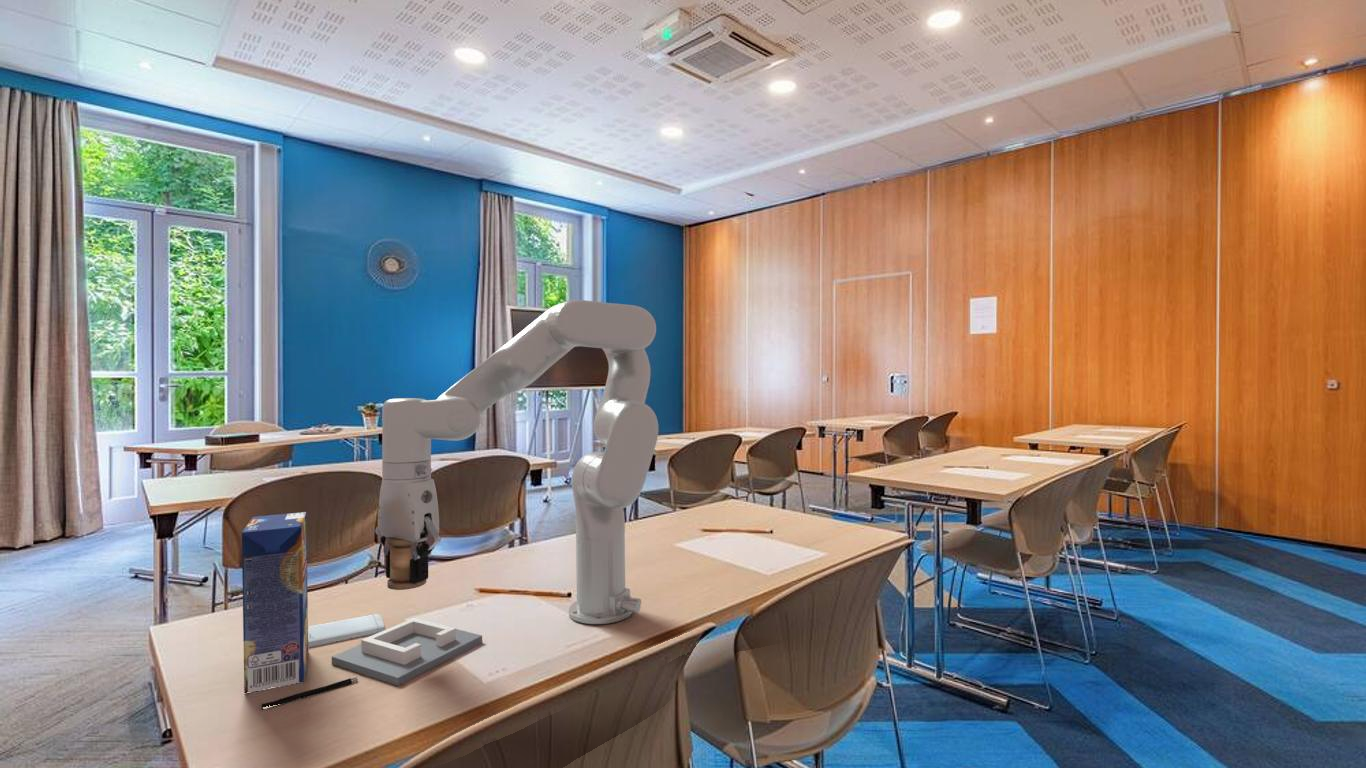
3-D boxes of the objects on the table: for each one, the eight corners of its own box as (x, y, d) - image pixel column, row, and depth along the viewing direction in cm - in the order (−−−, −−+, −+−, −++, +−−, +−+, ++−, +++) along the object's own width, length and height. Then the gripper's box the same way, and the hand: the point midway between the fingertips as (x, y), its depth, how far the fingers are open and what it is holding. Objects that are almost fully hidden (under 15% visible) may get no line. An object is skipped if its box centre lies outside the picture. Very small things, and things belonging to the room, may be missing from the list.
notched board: (482, 642, 108) (482, 624, 108) (397, 685, 93) (397, 664, 93) (419, 626, 115) (419, 609, 115) (331, 663, 100) (331, 644, 100)
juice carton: (303, 682, 94) (301, 526, 94) (244, 694, 91) (241, 532, 90) (308, 652, 105) (306, 511, 104) (255, 662, 101) (253, 516, 101)
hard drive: (305, 641, 106) (385, 625, 113) (304, 626, 113) (379, 611, 120) (306, 651, 106) (385, 634, 113) (304, 635, 113) (379, 620, 120)
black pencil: (356, 681, 95) (356, 675, 95) (358, 684, 94) (358, 677, 94) (261, 709, 87) (261, 702, 87) (262, 712, 86) (262, 705, 86)
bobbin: (434, 581, 105) (434, 534, 105) (403, 592, 100) (403, 542, 100) (410, 576, 108) (410, 530, 108) (379, 586, 102) (379, 538, 102)
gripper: (460, 471, 103) (460, 579, 103) (392, 465, 111) (392, 565, 111) (423, 478, 96) (423, 593, 97) (353, 470, 104) (354, 577, 104)
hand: (407, 577), depth 104 cm, fingers closed on bobbin, 5 cm apart
